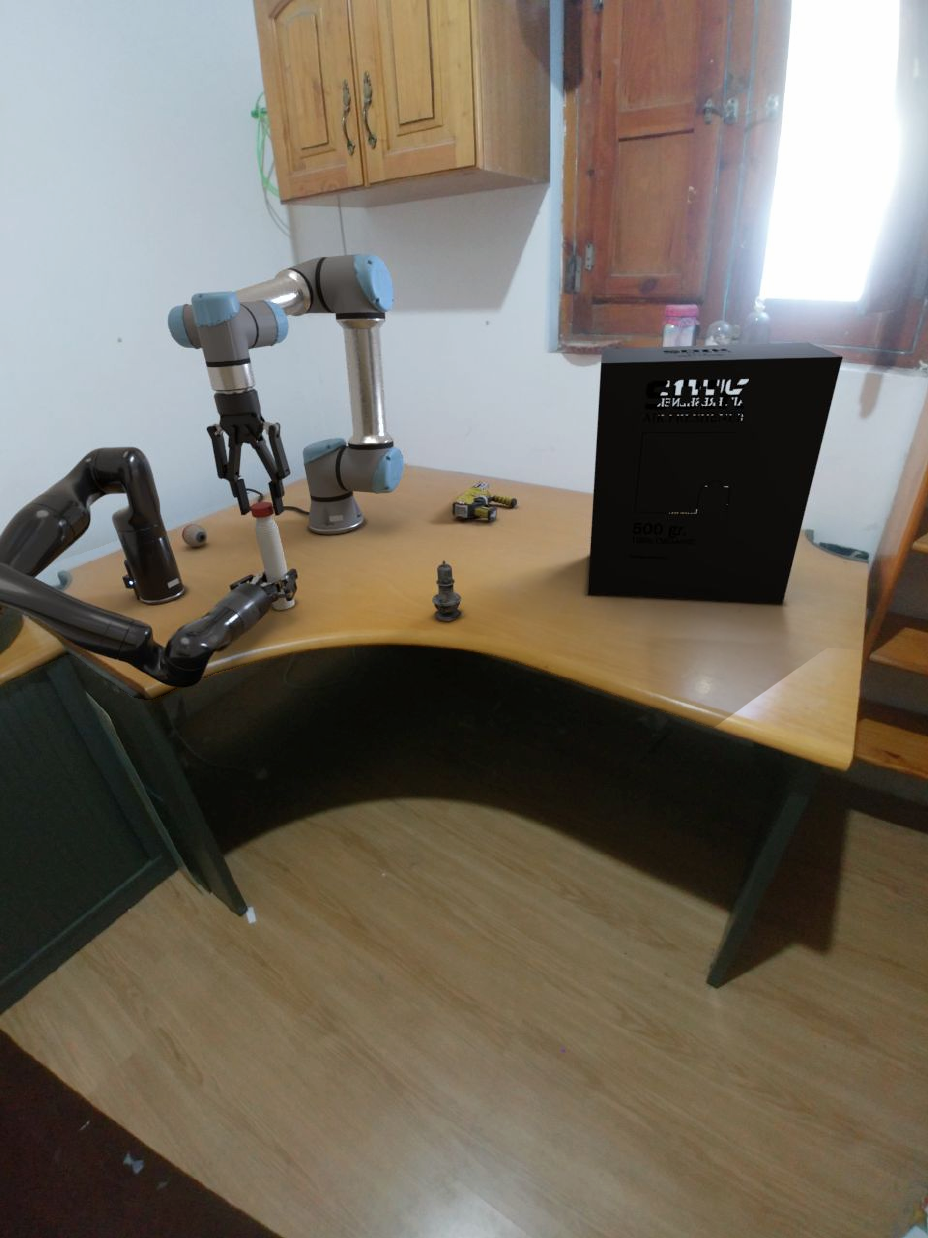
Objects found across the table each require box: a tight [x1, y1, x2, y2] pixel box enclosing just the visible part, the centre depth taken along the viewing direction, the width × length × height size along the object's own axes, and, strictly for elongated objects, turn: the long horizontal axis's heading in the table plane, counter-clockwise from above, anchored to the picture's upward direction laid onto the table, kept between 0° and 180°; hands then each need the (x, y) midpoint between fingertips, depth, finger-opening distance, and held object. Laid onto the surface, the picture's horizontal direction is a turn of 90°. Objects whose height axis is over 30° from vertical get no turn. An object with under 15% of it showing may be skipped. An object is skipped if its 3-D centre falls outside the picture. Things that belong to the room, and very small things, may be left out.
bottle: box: [254, 515, 296, 611], centre depth 124 cm, size 4×4×22 cm
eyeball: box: [181, 523, 208, 548], centre depth 159 cm, size 6×6×6 cm
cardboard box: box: [587, 342, 844, 605], centre depth 120 cm, size 38×20×45 cm, turn 78°
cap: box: [250, 501, 275, 519], centre depth 119 cm, size 4×4×2 cm
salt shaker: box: [431, 560, 462, 622], centre depth 119 cm, size 6×6×12 cm
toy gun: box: [451, 480, 518, 523], centre depth 174 cm, size 5×24×15 cm
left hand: (284, 571), depth 128 cm, fingers closed on bottle, 4 cm apart
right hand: (262, 512), depth 119 cm, fingers open, 6 cm apart
